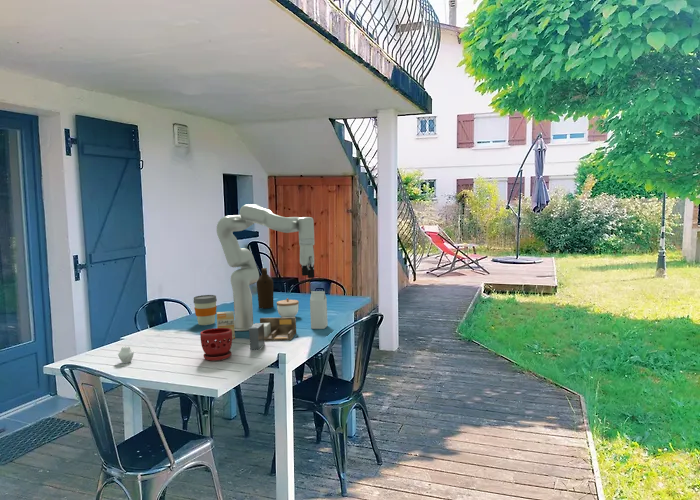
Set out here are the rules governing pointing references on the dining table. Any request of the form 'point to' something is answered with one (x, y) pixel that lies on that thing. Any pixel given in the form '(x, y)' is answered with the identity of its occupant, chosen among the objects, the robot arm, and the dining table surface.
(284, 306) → the lidded bowl
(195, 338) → the dining table surface
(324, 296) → the milk carton
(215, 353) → the plant pot
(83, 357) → the dining table surface
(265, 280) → the olive oil
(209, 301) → the reusable coffee cup
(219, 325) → the supplement box
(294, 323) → the rack
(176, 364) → the dining table surface
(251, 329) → the panel
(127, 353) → the white faceted vase
